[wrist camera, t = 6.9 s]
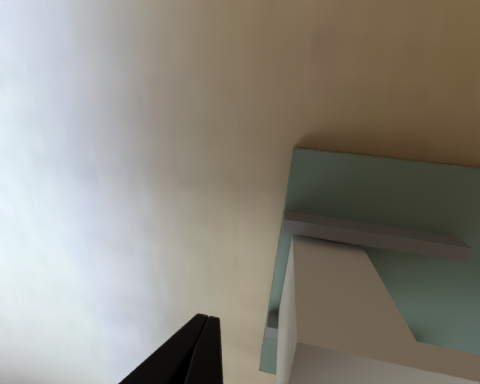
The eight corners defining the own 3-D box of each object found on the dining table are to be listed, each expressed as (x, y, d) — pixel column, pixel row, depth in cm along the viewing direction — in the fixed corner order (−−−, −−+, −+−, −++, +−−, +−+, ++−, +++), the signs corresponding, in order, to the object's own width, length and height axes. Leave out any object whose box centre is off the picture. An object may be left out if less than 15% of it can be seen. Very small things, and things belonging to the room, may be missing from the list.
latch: (410, 339, 11) (511, 522, 6) (278, 311, 12) (273, 452, 7) (443, 259, 10) (607, 411, 5) (292, 234, 11) (297, 341, 6)
